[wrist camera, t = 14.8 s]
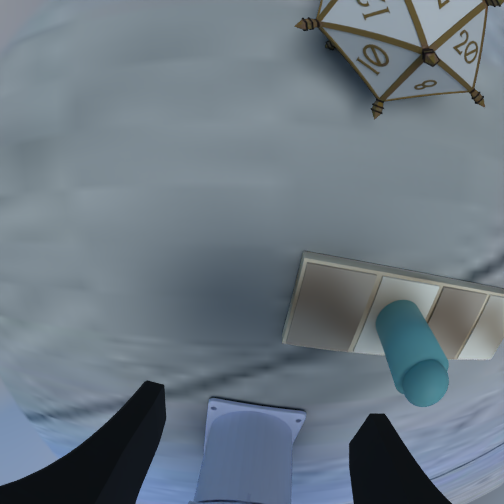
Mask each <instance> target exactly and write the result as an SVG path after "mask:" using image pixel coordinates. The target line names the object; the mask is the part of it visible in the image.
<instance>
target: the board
mask: <svg viewBox="0 0 504 504" xmlns="http://www.w3.org/2000/svg"><path fill="white" fill-rule="evenodd" d="M397 300H409V301H412V302H413V303H415V304H416V305H417V307H418V308H419V310H420V312H421V313H422V315H423V317H424V318H425V320H426V322H427V324H428V325H429V327H430V329H431V330H432V332H433V334H434V336H435V337H436V339H437V341H438V343H439V345H440V346H441V348H442V350H443V352H444V354H445V356H446V357H447V359H456V360H491V358H492V357H493V355H494V353H495V352H496V350H497V348H498V347H499V345H500V343H501V342H502V340H503V338H504V289H502V288H497V287H492V286H487V285H482V284H477V283H472V282H467V281H462V280H457V279H452V278H447V277H441V276H436V275H431V274H426V273H421V272H415V271H410V270H405V269H400V268H394V267H389V266H384V265H378V264H373V263H368V262H362V261H357V260H352V259H346V258H341V257H335V256H330V255H324V254H319V253H313V252H308V251H303V254H302V258H301V262H300V266H299V271H298V275H297V279H296V283H295V287H294V291H293V295H292V299H291V302H290V306H289V310H288V314H287V318H286V322H285V325H284V329H283V333H282V344H289V345H295V346H303V347H310V348H317V349H325V350H334V351H342V352H352V353H361V354H372V355H384V356H385V353H384V350H383V347H382V344H381V341H380V339H379V336H378V333H377V330H376V319H377V317H378V315H379V313H380V312H381V310H382V309H383V308H384V307H386V306H387V305H388V304H390V303H392V302H394V301H397Z"/></svg>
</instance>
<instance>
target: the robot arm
mask: <svg viewBox="0 0 504 504" xmlns="http://www.w3.org/2000/svg"><path fill="white" fill-rule="evenodd" d="M305 419H306V413H305V412H304V411H299V410H289V409H281V408H273V407H266V406H259V405H252V404H246V403H240V402H234V401H228V400H223V399H218V398H211V399H209V402H208V410H207V420H206V431H205V441H204V457H203V462H202V466H201V470H200V475H199V479H198V484H197V488H196V493H195V497H194V501H193V502H192V501H189V503H188V504H291V488H292V444H293V443H294V441H295V439H296V437H297V435H298V433H299V431H300V429H301V427H302V425H303V423H304V421H305ZM165 421H166V407H165V390H164V385H163V384H159V383H155V382H151V381H148V380H147V381H145V382H144V383H143V384H142V385H141V387H140V388H139V389H138V390H137V391H136V393H135V394H134V395H133V396H132V397H131V398H130V399H129V400H128V401H127V403H126V404H125V405H124V406H123V407H122V408H121V409H120V410H119V411H118V412H117V413H116V414H115V415H114V416H113V417H112V418H111V419H110V420H109V421H108V422H107V423H105V424H104V425H103V426H102V427H101V428H100V429H99V430H98V431H96V432H95V433H94V434H93V435H92V436H91V437H89V438H88V439H87V440H86V441H84V442H83V443H82V444H81V445H79V446H78V447H77V448H75V449H74V450H72V451H71V452H69V453H68V454H66V455H65V456H63V457H62V458H60V459H59V460H57V461H55V462H54V463H52V464H50V465H48V466H47V467H45V468H43V469H41V470H39V471H37V472H35V473H33V474H30V475H28V476H26V477H24V478H22V479H20V480H17V481H14V482H11V483H8V484H5V485H2V486H0V504H135V503H136V500H137V497H138V494H139V491H140V488H141V486H142V483H143V481H144V479H145V476H146V474H147V471H148V469H149V467H150V464H151V462H152V459H153V457H154V455H155V452H156V450H157V447H158V445H159V442H160V439H161V435H162V432H163V428H164V425H165ZM349 468H350V477H351V485H352V493H353V501H354V504H452V503H451V502H450V501H449V500H448V499H447V498H446V497H445V496H444V495H443V494H442V493H441V492H440V491H439V490H438V489H437V488H436V487H435V485H434V484H433V483H432V482H431V481H430V479H429V478H428V477H427V475H426V474H425V473H424V472H423V470H422V469H421V468H420V466H419V465H418V463H417V462H416V461H415V459H414V458H413V456H412V455H411V453H410V452H409V450H408V449H407V447H406V446H405V444H404V443H403V441H402V440H401V438H400V437H399V435H398V433H397V432H396V430H395V429H394V427H393V426H392V424H391V422H390V421H389V419H388V418H387V416H386V415H385V414H369V416H368V417H367V419H366V420H365V422H364V423H363V425H362V426H361V428H360V429H359V431H358V432H357V433H356V435H355V436H354V438H353V439H352V440H351V442H350V443H349Z"/></svg>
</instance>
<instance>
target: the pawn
mask: <svg viewBox="0 0 504 504" xmlns="http://www.w3.org/2000/svg"><path fill="white" fill-rule="evenodd" d="M376 330H377V333H378V336H379V339H380V341H381V344H382V347H383V350H384V353H385V356H386V359H387V362H388V365H389V368H390V371H391V374H392V377H393V380H394V383H395V386H396V389H397V390H398V391H399V392H400V393H402V394H404V395H405V397H406V398H407V400H408V401H409V402H410V403H412V404H413V405H416V406H419V407H427V406H431V405H433V404H435V403H437V402H438V401H439V400H440V399H441V398H442V397H443V396H444V394H445V393H446V391H447V388H448V383H449V377H448V373H447V370H448V366H449V364H448V360H447V357H446V356H445V354H444V352H443V350H442V348H441V346H440V345H439V343H438V341H437V339H436V337H435V336H434V334H433V332H432V330H431V329H430V327H429V325H428V324H427V322H426V320H425V318H424V317H423V315H422V313H421V312H420V310H419V308H418V307H417V305H416V304H415V303H413V302H412V301H409V300H397V301H394V302H392V303H390V304H388V305H387V306H386V307H384V308H383V309H382V310H381V312H380V313H379V315H378V317H377V319H376Z"/></svg>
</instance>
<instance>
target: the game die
mask: <svg viewBox="0 0 504 504" xmlns="http://www.w3.org/2000/svg"><path fill="white" fill-rule="evenodd" d="M503 2H504V0H321V2H320V6H319V10H318V14H317V18H316V19H310V18H308V19H304V18H302V20H301V21H300V22H299V23H297V24H296V25H295V27H297V28H300V29H303V31H307V30H308V29H309V30H313V29H314V28H315V27H318V28H319V29H320V30H321V32H322V33H323V34H324V35H325V36H326V37H327V38H328V39H329V41H327V42H326V46H325V47H326V48H329V49H331V50H334V48H335V49H336V48H337V49H338V51H339V52H340V53H341V54H342V55H343V56H344V58H345V59H346V60H347V61H348V62H349V64H350V65H351V66H352V67H353V69H354V70H355V71H356V72H357V74H358V75H359V76H360V77H361V79H362V80H363V81H364V83H365V84H366V85H367V87H368V88H369V89H370V91H371V92H372V93H373V95H374V96H375V97H376V102H375V103H374V104H372V105H373V107H372V108H371V110H372V113H373V117H374V120H375V119H376V118H377V117H378V116H379V115H380V114H382V109H384V108H383V103H384V102H386V101H392V100H399V99H406V98H414V97H422V96H431V95H441V94H452V93H466V92H469V93H470V94H471V96H472V99H473V100H474V101H475V104H479V105H481V106H483V107H485V104H484V99H483V98H484V96H482V95H481V94H480V92H478V91H477V90H475V88H474V87H475V83H476V78H477V74H478V69H479V64H480V59H481V53H482V47H483V41H484V35H485V28H486V20H487V11H488V6H489V5H491V6H494V7H496V6H499V7H501V4H502V3H503Z"/></svg>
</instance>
